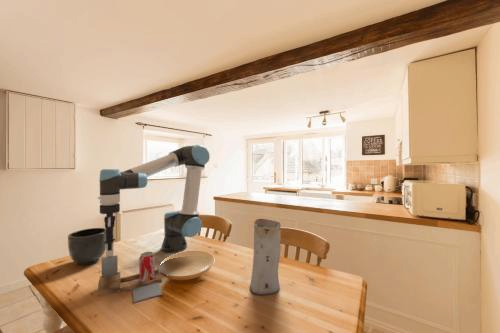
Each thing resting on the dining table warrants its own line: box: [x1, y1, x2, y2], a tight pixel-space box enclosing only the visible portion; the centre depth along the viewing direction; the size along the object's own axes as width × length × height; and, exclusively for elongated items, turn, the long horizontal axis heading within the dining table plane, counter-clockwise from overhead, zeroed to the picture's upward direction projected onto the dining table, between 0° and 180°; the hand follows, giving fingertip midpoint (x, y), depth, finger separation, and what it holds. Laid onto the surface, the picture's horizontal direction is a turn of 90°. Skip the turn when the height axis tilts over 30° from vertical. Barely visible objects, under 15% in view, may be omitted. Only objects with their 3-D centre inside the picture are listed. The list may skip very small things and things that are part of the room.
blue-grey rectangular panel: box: [99, 254, 120, 278], centre depth 91 cm, size 7×1×8 cm, turn 120°
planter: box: [67, 227, 106, 266], centre depth 118 cm, size 17×17×16 cm
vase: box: [249, 218, 282, 296], centre depth 92 cm, size 13×14×28 cm
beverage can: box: [138, 251, 156, 283], centre depth 99 cm, size 6×6×12 cm
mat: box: [132, 282, 163, 304], centre depth 89 cm, size 10×10×1 cm
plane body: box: [97, 269, 163, 297], centre depth 95 cm, size 24×10×5 cm, turn 120°
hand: (109, 256), depth 96 cm, fingers closed
